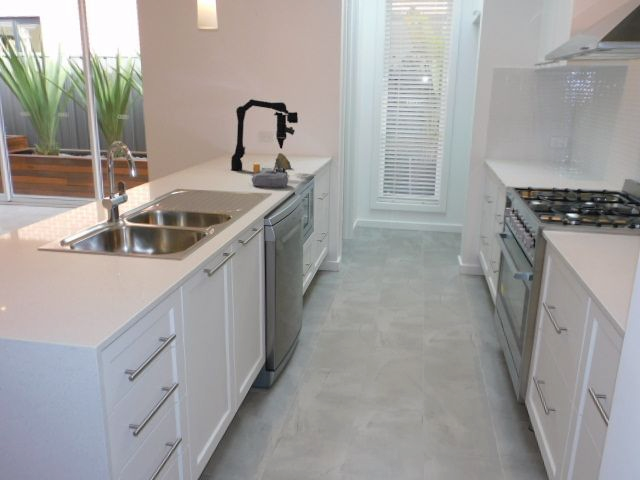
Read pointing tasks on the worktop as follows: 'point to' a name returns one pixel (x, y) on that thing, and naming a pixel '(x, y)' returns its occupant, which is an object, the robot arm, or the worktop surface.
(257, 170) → the orange cube
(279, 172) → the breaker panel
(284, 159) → the rock
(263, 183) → the small grey backpack
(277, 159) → the block
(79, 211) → the worktop surface
